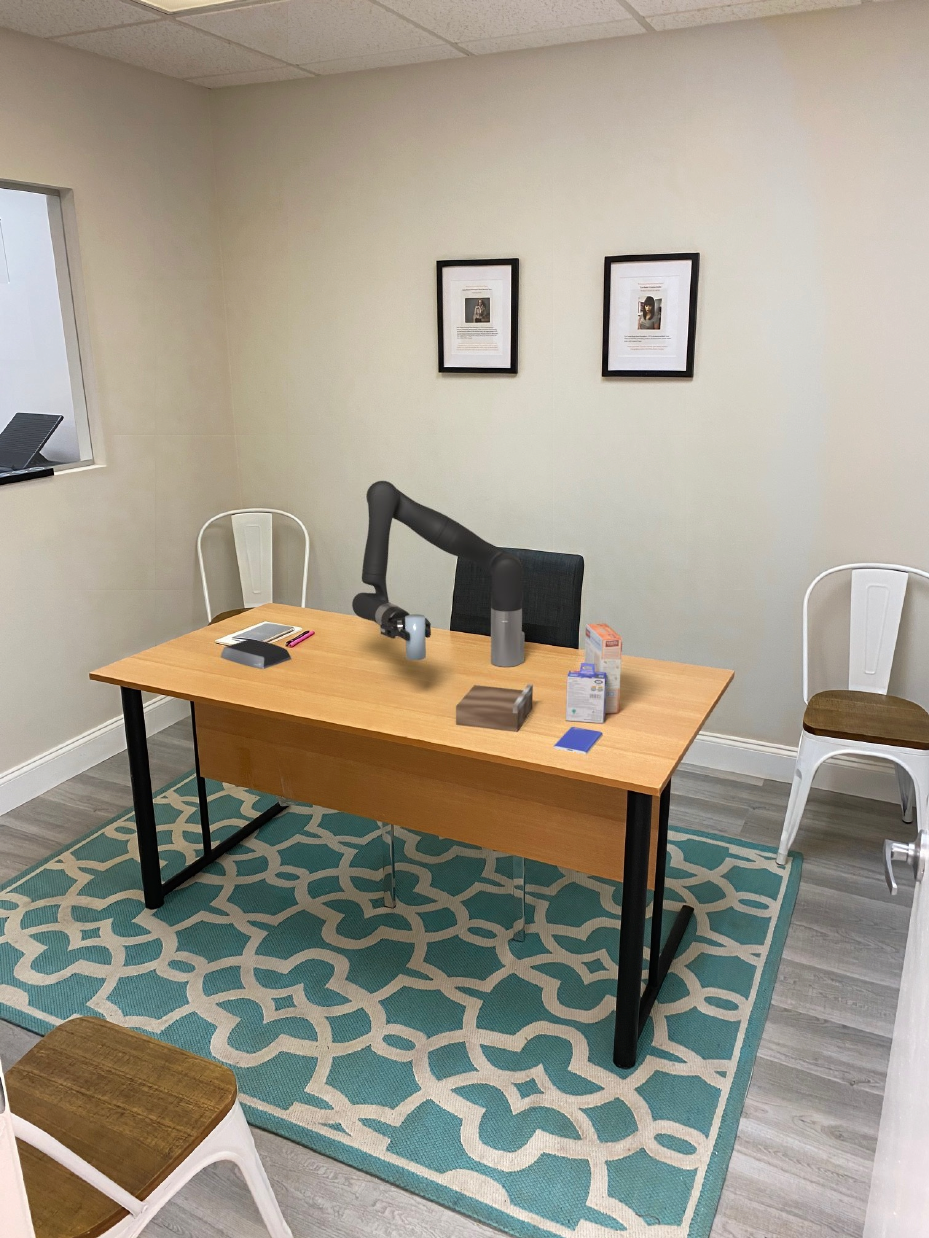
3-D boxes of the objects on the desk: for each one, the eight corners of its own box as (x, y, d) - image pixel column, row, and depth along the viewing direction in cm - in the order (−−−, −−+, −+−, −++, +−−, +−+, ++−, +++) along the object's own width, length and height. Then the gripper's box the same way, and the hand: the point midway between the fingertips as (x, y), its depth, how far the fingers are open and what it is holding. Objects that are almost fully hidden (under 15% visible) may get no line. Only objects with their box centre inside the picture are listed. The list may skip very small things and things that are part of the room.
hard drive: (570, 726, 234) (553, 744, 223) (602, 731, 231) (586, 750, 220) (570, 732, 234) (553, 750, 224) (602, 737, 231) (586, 756, 220)
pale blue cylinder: (420, 652, 251) (419, 613, 248) (429, 658, 247) (428, 618, 244) (403, 655, 249) (401, 616, 246) (411, 661, 245) (410, 621, 242)
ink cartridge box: (605, 716, 243) (607, 663, 239) (604, 724, 238) (606, 670, 234) (567, 713, 245) (569, 660, 241) (565, 721, 240) (566, 667, 236)
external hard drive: (261, 671, 278) (260, 658, 277) (218, 659, 289) (217, 646, 288) (293, 660, 288) (292, 647, 287) (251, 648, 299) (250, 636, 298)
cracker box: (619, 713, 244) (623, 637, 238) (597, 715, 243) (600, 638, 237) (603, 694, 257) (606, 621, 252) (582, 696, 257) (584, 623, 251)
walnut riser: (474, 702, 252) (474, 677, 250) (532, 708, 248) (532, 684, 246) (456, 724, 238) (455, 698, 236) (517, 731, 233) (517, 705, 231)
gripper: (368, 609, 255) (393, 625, 240) (416, 602, 261) (443, 618, 246) (369, 635, 257) (394, 653, 242) (417, 628, 263) (443, 645, 249)
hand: (418, 635), depth 244 cm, fingers closed on pale blue cylinder, 5 cm apart
